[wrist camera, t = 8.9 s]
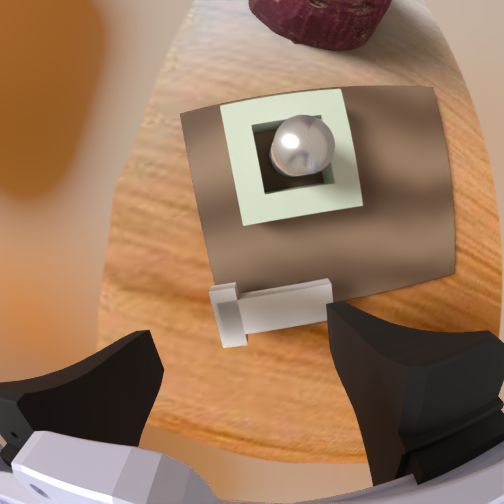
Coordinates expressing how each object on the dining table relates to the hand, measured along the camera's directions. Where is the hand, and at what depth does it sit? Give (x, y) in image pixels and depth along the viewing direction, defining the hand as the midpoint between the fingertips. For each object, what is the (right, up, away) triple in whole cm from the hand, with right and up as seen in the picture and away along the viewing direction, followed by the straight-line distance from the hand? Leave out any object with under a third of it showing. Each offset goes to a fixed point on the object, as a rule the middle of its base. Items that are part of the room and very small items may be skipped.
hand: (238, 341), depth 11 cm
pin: (+3, +10, +7) cm, 12 cm away
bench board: (+6, +8, +9) cm, 13 cm away
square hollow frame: (+3, +10, +8) cm, 13 cm away
